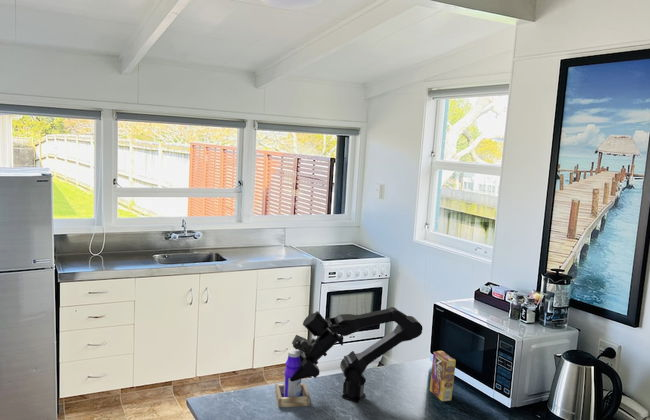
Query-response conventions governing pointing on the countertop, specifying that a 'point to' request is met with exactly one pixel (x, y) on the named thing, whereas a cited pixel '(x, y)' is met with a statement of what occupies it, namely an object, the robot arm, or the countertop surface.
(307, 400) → the wooden square frame
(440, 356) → the candy box
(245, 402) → the countertop surface
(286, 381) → the bottle
